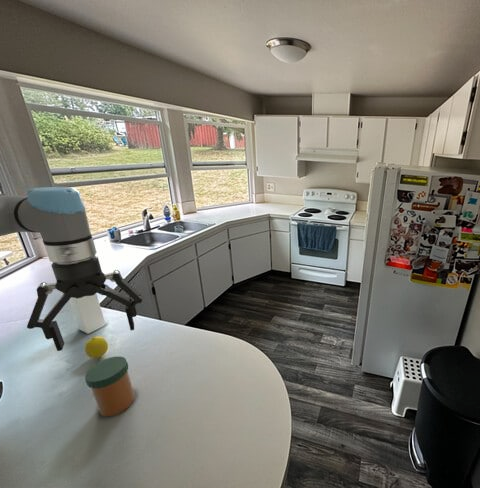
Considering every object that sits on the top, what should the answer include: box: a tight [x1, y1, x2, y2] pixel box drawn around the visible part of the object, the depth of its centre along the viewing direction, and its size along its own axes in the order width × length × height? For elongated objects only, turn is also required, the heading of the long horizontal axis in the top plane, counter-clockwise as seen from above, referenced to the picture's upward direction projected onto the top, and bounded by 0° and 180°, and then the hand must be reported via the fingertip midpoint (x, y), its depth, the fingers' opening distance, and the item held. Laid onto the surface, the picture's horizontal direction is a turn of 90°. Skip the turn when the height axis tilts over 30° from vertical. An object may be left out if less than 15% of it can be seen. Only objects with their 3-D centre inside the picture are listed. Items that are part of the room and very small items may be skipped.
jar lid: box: [84, 355, 129, 389], centre depth 65 cm, size 8×8×2 cm
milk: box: [68, 293, 107, 335], centre depth 95 cm, size 6×6×22 cm
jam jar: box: [90, 370, 136, 417], centre depth 67 cm, size 8×8×12 cm
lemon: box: [84, 336, 109, 359], centre depth 83 cm, size 6×6×8 cm
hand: (99, 336), depth 62 cm, fingers open, 13 cm apart
